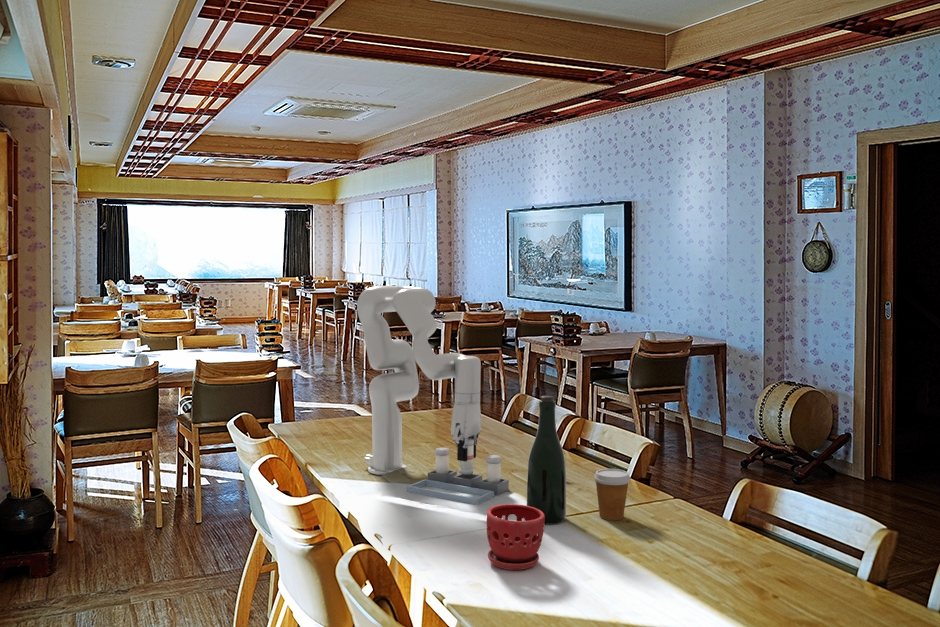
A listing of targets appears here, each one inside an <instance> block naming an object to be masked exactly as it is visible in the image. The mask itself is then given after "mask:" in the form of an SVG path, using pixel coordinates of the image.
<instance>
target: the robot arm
mask: <svg viewBox="0 0 940 627" xmlns="http://www.w3.org/2000/svg"><path fill="white" fill-rule="evenodd" d="M436 303H437V302H436V298H435V295H434V294H433V292H432V291H431V290H429V289H428V288H424V287H415V286H406V285H382V286H381V285H379V286H378V285H377V286H371V287H368V288H365V289H364V290H362V292H361V293H360V294H359V296H358V299H357V304H356V311H357V316H358V318H359V322H360V324H361V327H362V332H363V335H364V337H363V338H364V343H365V347H366V348H365V350H366V353H367V354H366V355H367V359H368V364H369V365H370V367H371V368H372V369H373V370H375V371H387V370H394V372H389V373H382V374H379V375H377V376H375V377H373V378H372V380H371V381H370V383H369V386H368V392H369V394H368V395H369V398H370V404H371V406H370V407H371V418H372V419H371V420H372V422H371V423H372V426H371V428H372V429H371V430H372V432H371V433H372V434H371V435H372V436H371V437H372V438H371V439H372V441H371V442H372V444H371V445H372V447H371V448H372V454H366V455H365V457H364V459H363V460H364V462H367V463H369V465H368V467H367V471H368V473H369V474H373V475H378V476H379V475H380V476H384V475H387V474H389V473H393V472H396V471H398V470H401V469H404V468H405V467H407V465H405V463H403V441H402V440H403V431H402V429H403V427H402V426H403V421H402V417H403V416H402V413H401V410H400V408H399V406H398V404H397V403H398V402H404V401H410V400H412V399H414V398H416V397H417V395H418V394H419V390H420V382H419V374H418V370H417V366H418V367H419V369H420V370H421V372H422V373H423V374H424V375H425V376H426V377H427V378H428V379H430V380H431V381H440V380H448V379H454V403H453V408H452V412H451V427H450V434H451V437H452V441H453V442H454V443H455V446H456V449H457V450H456V451H457V453H456V456H457V457H456V458H457V459H456V460H457V461H459V462H460V461H465V462H466V461H467V452H468V448H466V445H467V438H472V439H474V452H473V454H474V458H473V459H475V458H476V457H477V444H478V438H479V436H480V434H481V433H482V432H481V428H482V413H481V412H482V411H481V374H482V373H481V371H482V365H481V359H480V358H479V357H478V356H474V355H465V354H463V353H459V352H450V353H449V352H448V353H447V352H446V353H439V354H438V353H437V354H436V353H435V352H434V350H433V349H432V347H431V346H430V345H431V344H430V343H429V340H428V338H430V337H431V336H432V335H433V334H434V333H435V332H436V330H437V328H438V323H437V321H436V319H435V317H434V316H433V314H432V312H433V311H434V310H435V308H436ZM392 312H393V313H394V312H396V313H397V314H398V316H399V318H400V319H401V321H402V322H403V323H404V324H405V326H406V328H407V330H408V331H409V332H410V334H411V336H412V339H413V340H412V346H411V345H410V343H409V342H408V341H406V340H404V339H400V338H399V339H393V338H392V336H391V330H390V326H389V324H388V322H387V320H386V319H385V318H384V316H382V313H392ZM461 439H463V442H462V440H461Z"/></svg>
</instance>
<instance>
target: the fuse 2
mask: <svg viewBox="0 0 940 627" xmlns="http://www.w3.org/2000/svg"><path fill="white" fill-rule="evenodd" d="M501 464H502V456H501V455H497V454H493V455H492V454H491V455H487V456H486V478H487V482H488V483H494V484H498V483H500V482H501V478H502V477H501V476H502V474H501V473H502V472H501V471H502V470H501Z"/></svg>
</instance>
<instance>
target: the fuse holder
mask: <svg viewBox="0 0 940 627" xmlns="http://www.w3.org/2000/svg"><path fill="white" fill-rule="evenodd" d="M427 480H432V481H438V482H444V483H449V484H455V485H461V486H466V487H472V488H478V489H484V490H489V491H494V497H498V496H499V495H502V494H504V493H505V492H508V491H510V490H511V488H509V487H510V484H509V482H510V479H507V478H502V477H501V482H500V483H498V484H494V483H488V482H487V477H486V478H483V475H481V474H478V473H473V474H469V475H464V474H460V473H459V474H458V471H457V470H452V469H449V474H446V475H441V474H436V469H434V470H432V471H429V472H427Z"/></svg>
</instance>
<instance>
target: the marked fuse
mask: <svg viewBox="0 0 940 627" xmlns="http://www.w3.org/2000/svg"><path fill="white" fill-rule="evenodd" d="M461 440H462V442H463V439H461ZM466 448H468V452H467V461H466V462H465V461H459V469H458V470H459V474H464V475H469V474H475V473H474V459H475V458H474V454H473V452H474V439H472V438H467V445H466Z"/></svg>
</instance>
